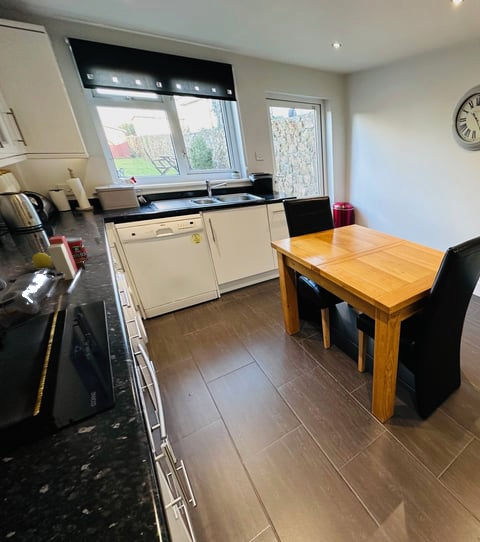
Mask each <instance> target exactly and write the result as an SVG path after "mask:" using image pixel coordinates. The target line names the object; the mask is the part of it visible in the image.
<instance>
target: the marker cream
mask: <svg viewBox="0 0 480 542" xmlns="http://www.w3.org/2000/svg"><path fill="white" fill-rule="evenodd" d="M46 249H47V252H48V253H49V257H50V258H51V260H52V264H53V266H54V267H55V271H59V272H63V273H64V276H65V278H66V279H65V280H64V281H66V280H68V281H69V279H72V280H73V279H74V277H75V275H76V274H75V271H74V268H73V266H72V263H71V261H70V258H69V256H68V253H67V251H66V248H65V246H64V243H61V244H52V245H50V244H49V245H48V247H47V248H46ZM60 282H63V281H62V280H60Z"/></svg>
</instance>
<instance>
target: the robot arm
mask: <svg viewBox="0 0 480 542" xmlns="http://www.w3.org/2000/svg"><path fill="white" fill-rule="evenodd" d="M65 279H66V278H65V276H64V273H63V272H59V271H57V270H54V269H53V270H52V269H50V268H49V267H48V268H39V269H38V270H37V271H34V272H33V273H31V272H28V273H25V274H22V275H19V276H17V277H13V278H10V279H8V280H7V281H8V283H9V288H7V282H6V281H5V280H4V278H2V277H1V276H0V292H3V290H5V289H6V288H7V289H8V290H7V291H6V292H5V293H4V294H3V295H2V296H1V299H0V334H1V333H5V332H7V331H10V330H13V329H14V328H17V327H19V326H21V325H24V324H26V323H29V322H31V321H33V320H35V319H36V318H38V317H39V316H40V315H41V313H42V307H41V302H42V301H43V300H44V299H45V296H46V295H47V293H48V292H49V290H50V289H51V286H52V284H54V282H55V281H56V280H60V281H61V280H63V281H66V280H65Z"/></svg>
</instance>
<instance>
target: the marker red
mask: <svg viewBox="0 0 480 542" xmlns="http://www.w3.org/2000/svg"><path fill="white" fill-rule="evenodd" d="M66 238H67V237H66V236H65V235H57V236H50V238H49V239H48V242H49V246H50V245H52V244H61V243H64V246H65V248H66V251H67V253H68V256H69V258H70V261H71V263H72V266H73V268H74V271H75V274H77V272H78V269H77V267H76V264H75V262H74V259H73V256H72V254H71V251H70V249H69V246H68V243H67V241H66Z"/></svg>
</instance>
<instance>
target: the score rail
mask: <svg viewBox="0 0 480 542" xmlns="http://www.w3.org/2000/svg"><path fill="white" fill-rule="evenodd" d="M75 264H76V267H77V269H78V272H77V274H76V275H75V277H74V279H69V280H62V281H61V280H56V281H55V282H54V283H52V286H51V289H50V290H49V292H48V293H47V295H46V296H45V298H46V299H47V298H50V297H51V298H52V297H59V296H63V295H68V294H73V293H74V291H75V289H76V287H77V285H78V283H79V281H80V279H81V277H82V276H81V275H83V274H84V272H85V269H86V268H87V267H86V264H85V261H83V262H75ZM45 298H44V299H45Z"/></svg>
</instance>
